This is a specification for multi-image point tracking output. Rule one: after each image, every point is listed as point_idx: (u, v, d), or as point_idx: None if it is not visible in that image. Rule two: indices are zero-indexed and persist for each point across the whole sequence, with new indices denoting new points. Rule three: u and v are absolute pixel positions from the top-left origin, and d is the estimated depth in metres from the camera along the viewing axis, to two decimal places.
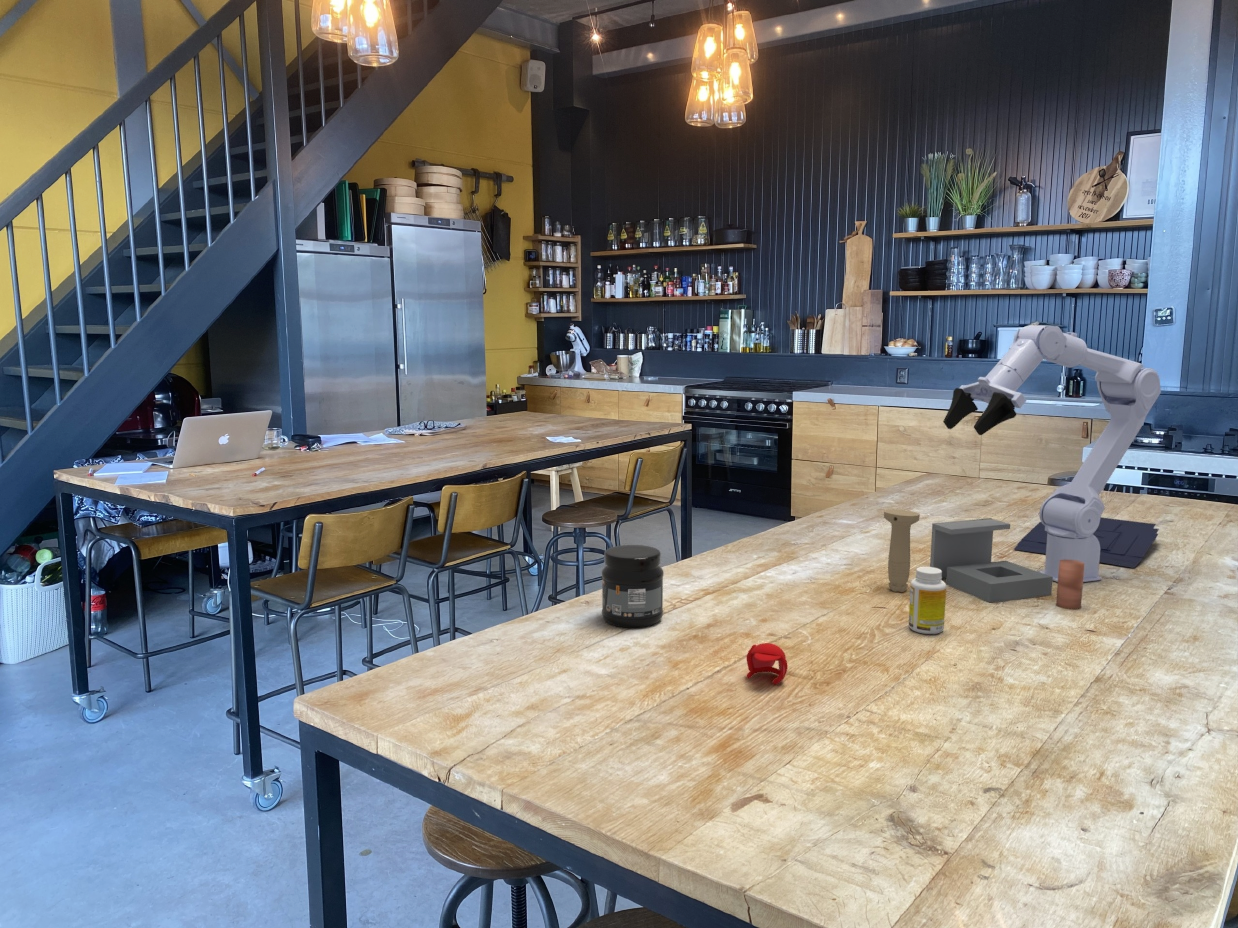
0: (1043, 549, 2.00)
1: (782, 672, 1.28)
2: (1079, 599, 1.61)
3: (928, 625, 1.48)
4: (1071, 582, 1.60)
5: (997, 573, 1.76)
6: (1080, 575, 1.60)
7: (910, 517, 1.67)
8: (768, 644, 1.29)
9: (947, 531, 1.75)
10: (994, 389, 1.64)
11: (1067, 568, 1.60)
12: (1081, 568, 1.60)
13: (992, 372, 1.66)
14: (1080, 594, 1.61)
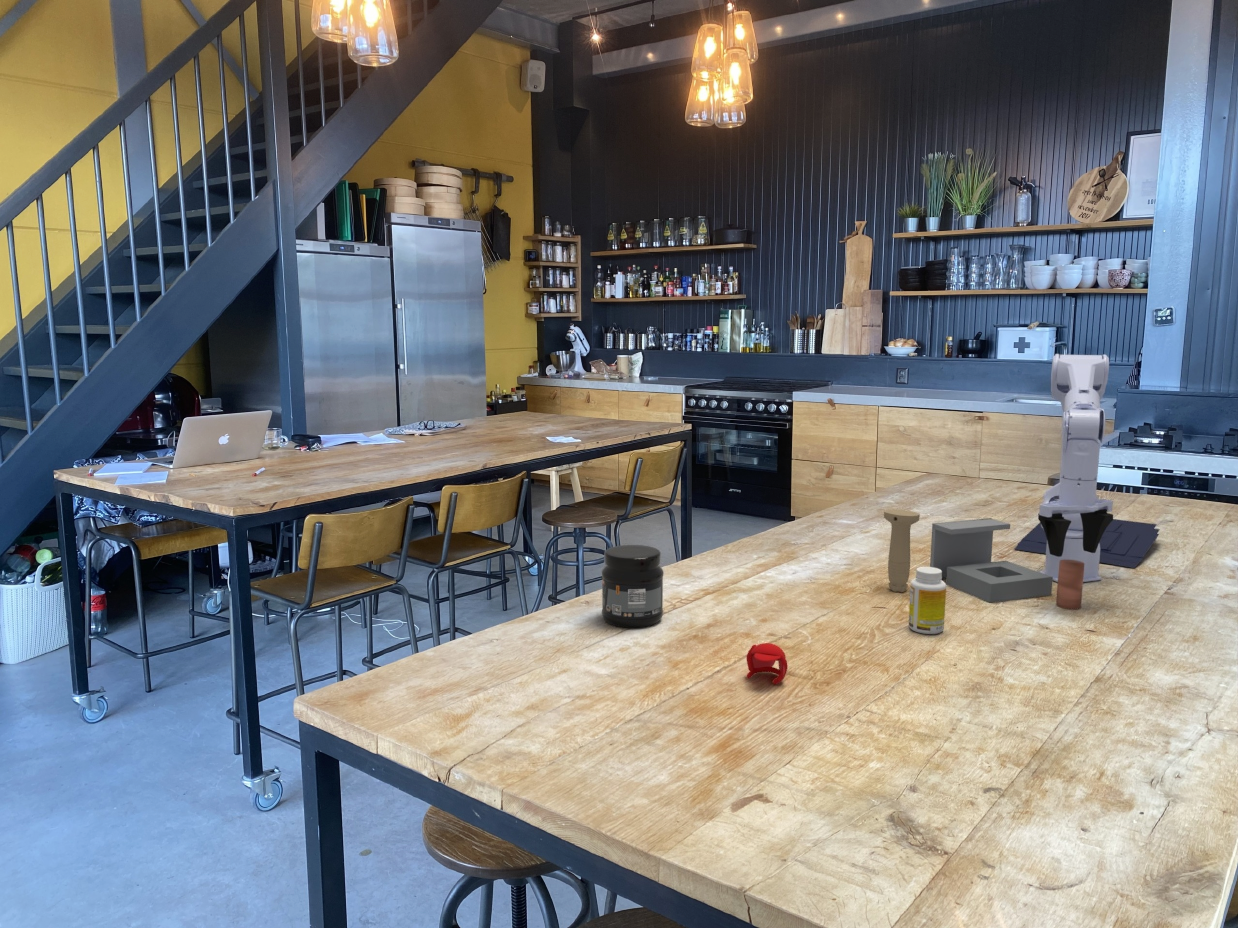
0: (1043, 548, 2.00)
1: (782, 672, 1.28)
2: (1079, 599, 1.61)
3: (928, 625, 1.48)
4: (1071, 582, 1.60)
5: (997, 573, 1.76)
6: (1080, 575, 1.60)
7: (910, 517, 1.67)
8: (768, 644, 1.29)
9: (947, 531, 1.75)
10: None
11: (1067, 568, 1.60)
12: (1081, 568, 1.60)
13: (1089, 492, 1.57)
14: (1080, 594, 1.61)
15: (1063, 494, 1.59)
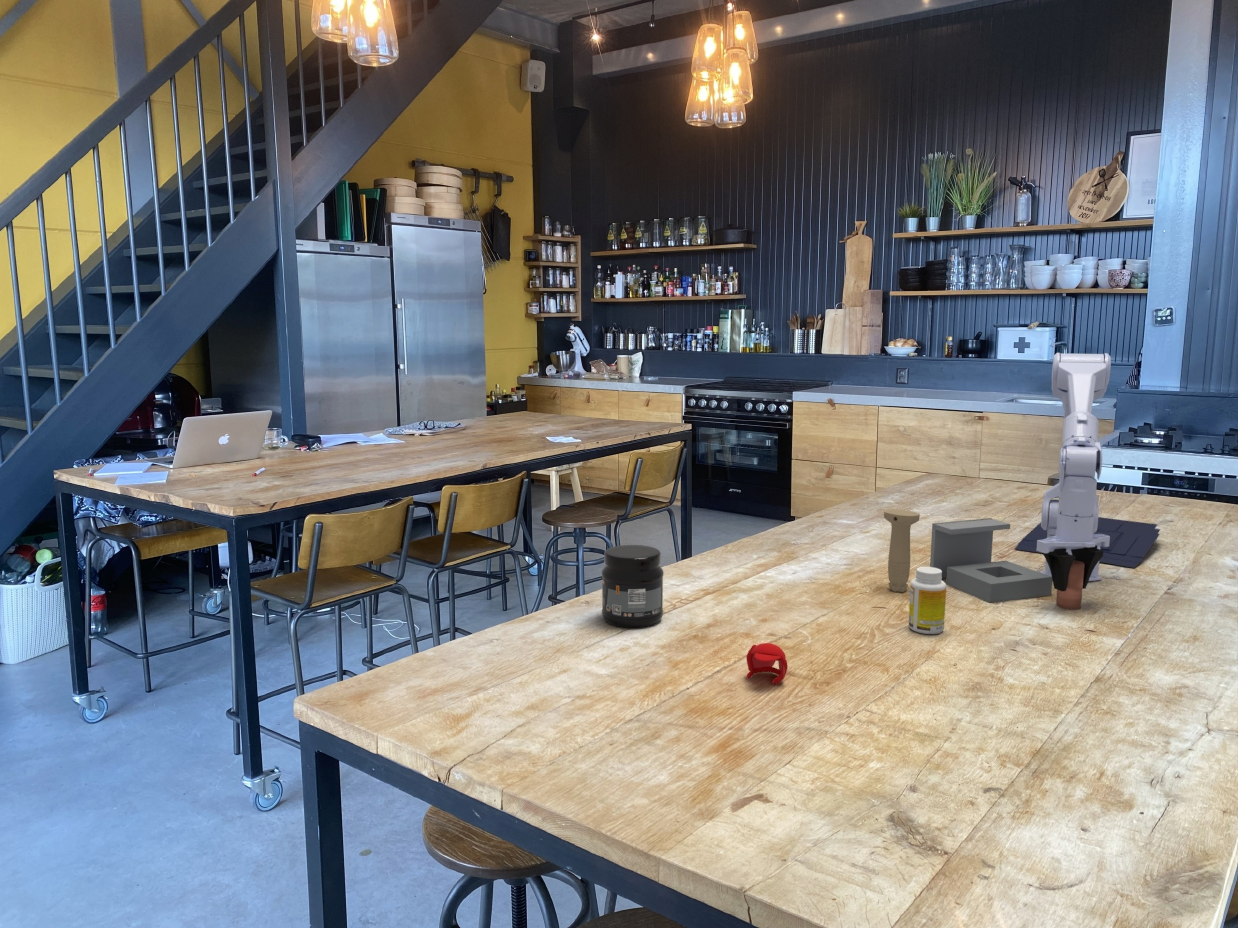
0: None
1: (782, 672, 1.28)
2: (1079, 599, 1.61)
3: (928, 625, 1.48)
4: (1071, 582, 1.60)
5: (997, 573, 1.76)
6: (1080, 575, 1.60)
7: (910, 517, 1.67)
8: (768, 644, 1.29)
9: (947, 531, 1.75)
10: None
11: None
12: (1081, 568, 1.60)
13: (1086, 528, 1.58)
14: (1080, 594, 1.61)
15: (1060, 530, 1.60)
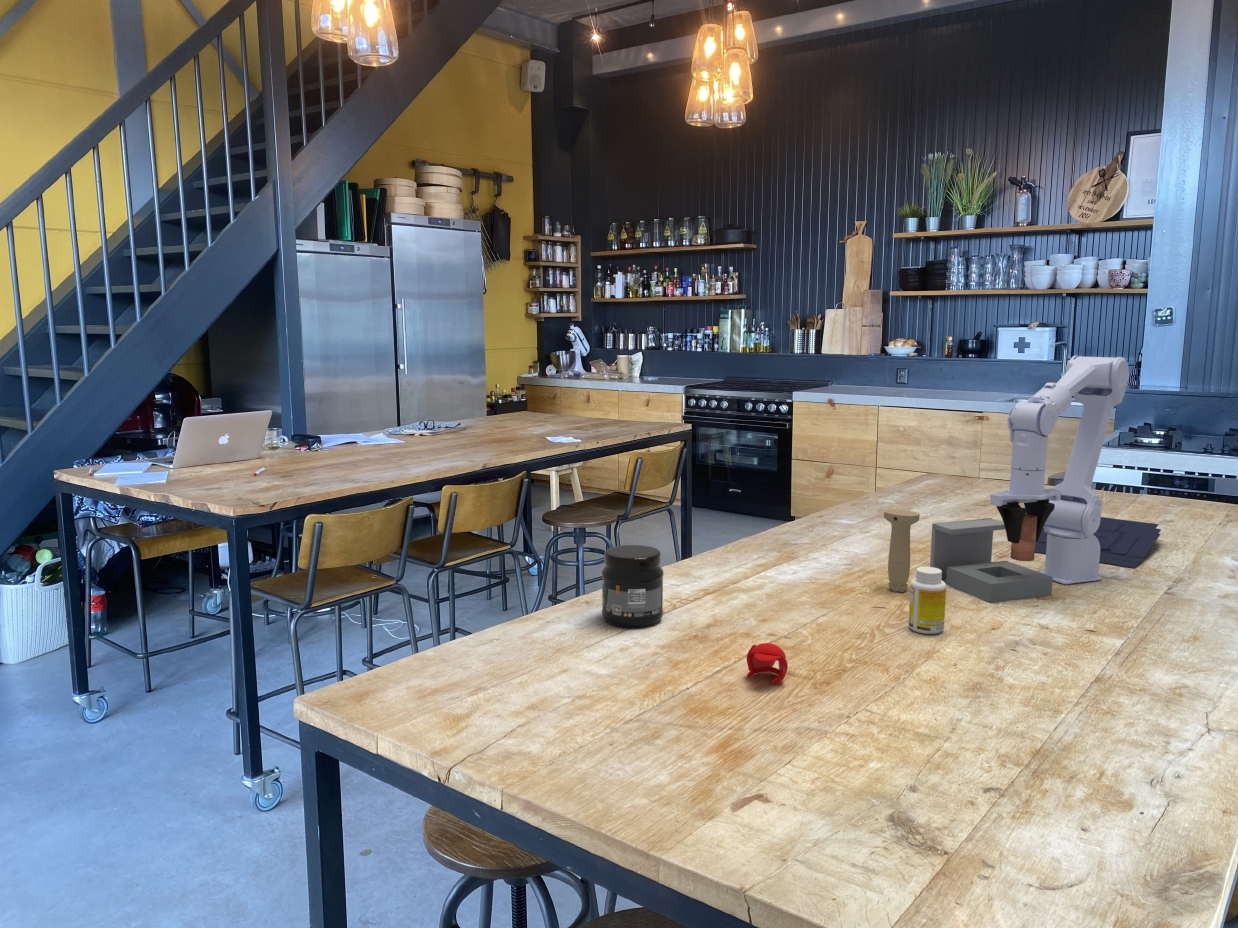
0: (1044, 548, 2.00)
1: (782, 672, 1.28)
2: (1032, 551, 1.66)
3: (928, 625, 1.48)
4: (1025, 534, 1.66)
5: (997, 573, 1.76)
6: (1033, 528, 1.65)
7: (910, 517, 1.67)
8: (768, 644, 1.29)
9: (947, 531, 1.75)
10: None
11: None
12: (1034, 521, 1.65)
13: (1037, 482, 1.63)
14: (1034, 546, 1.66)
15: (1013, 484, 1.65)
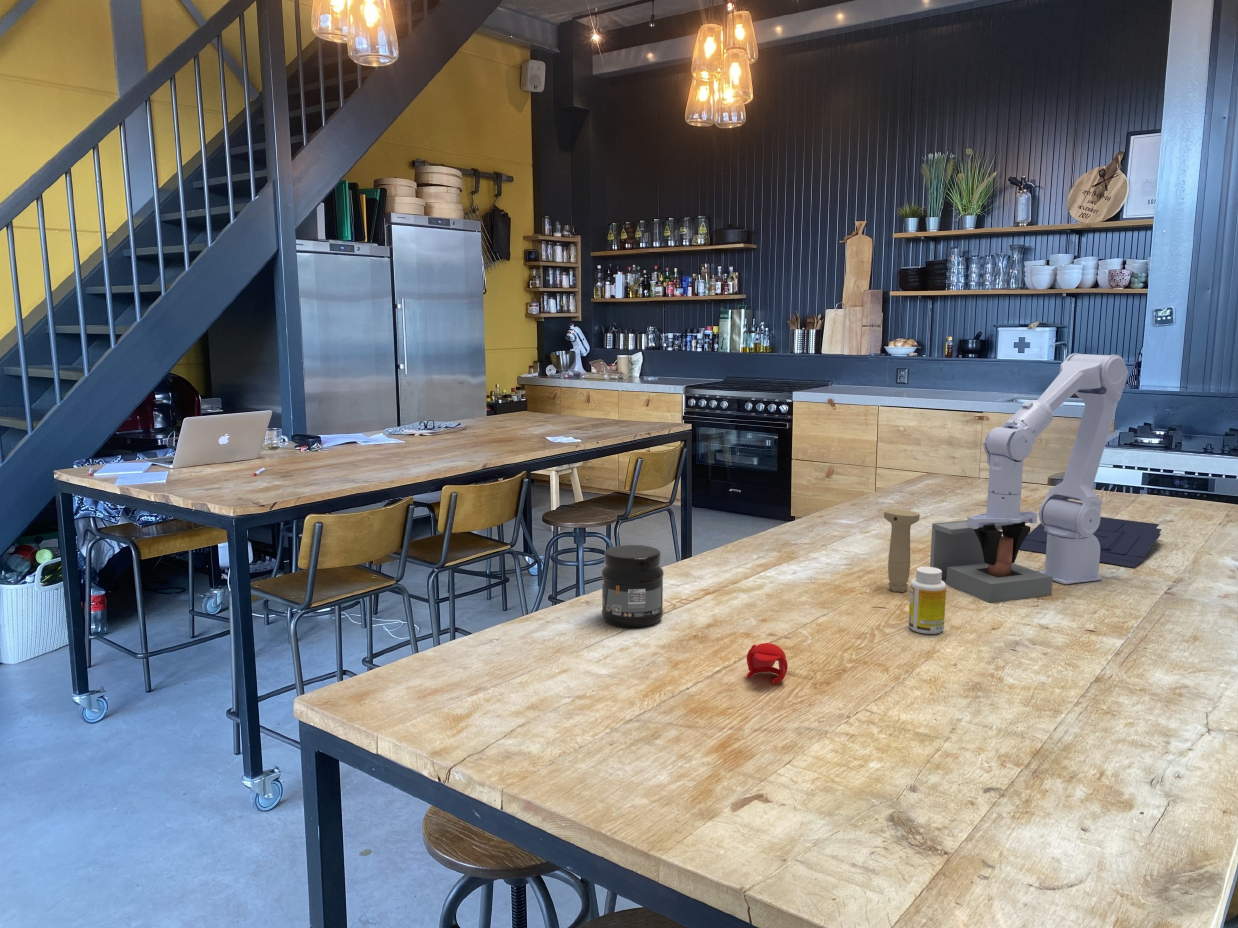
0: (1044, 548, 2.01)
1: (782, 672, 1.28)
2: (1008, 573, 1.70)
3: (928, 625, 1.48)
4: (1001, 556, 1.69)
5: None
6: (1009, 550, 1.69)
7: (910, 517, 1.67)
8: (768, 644, 1.29)
9: (947, 531, 1.75)
10: None
11: None
12: (1010, 543, 1.69)
13: (1013, 505, 1.67)
14: (1010, 567, 1.70)
15: (989, 507, 1.69)
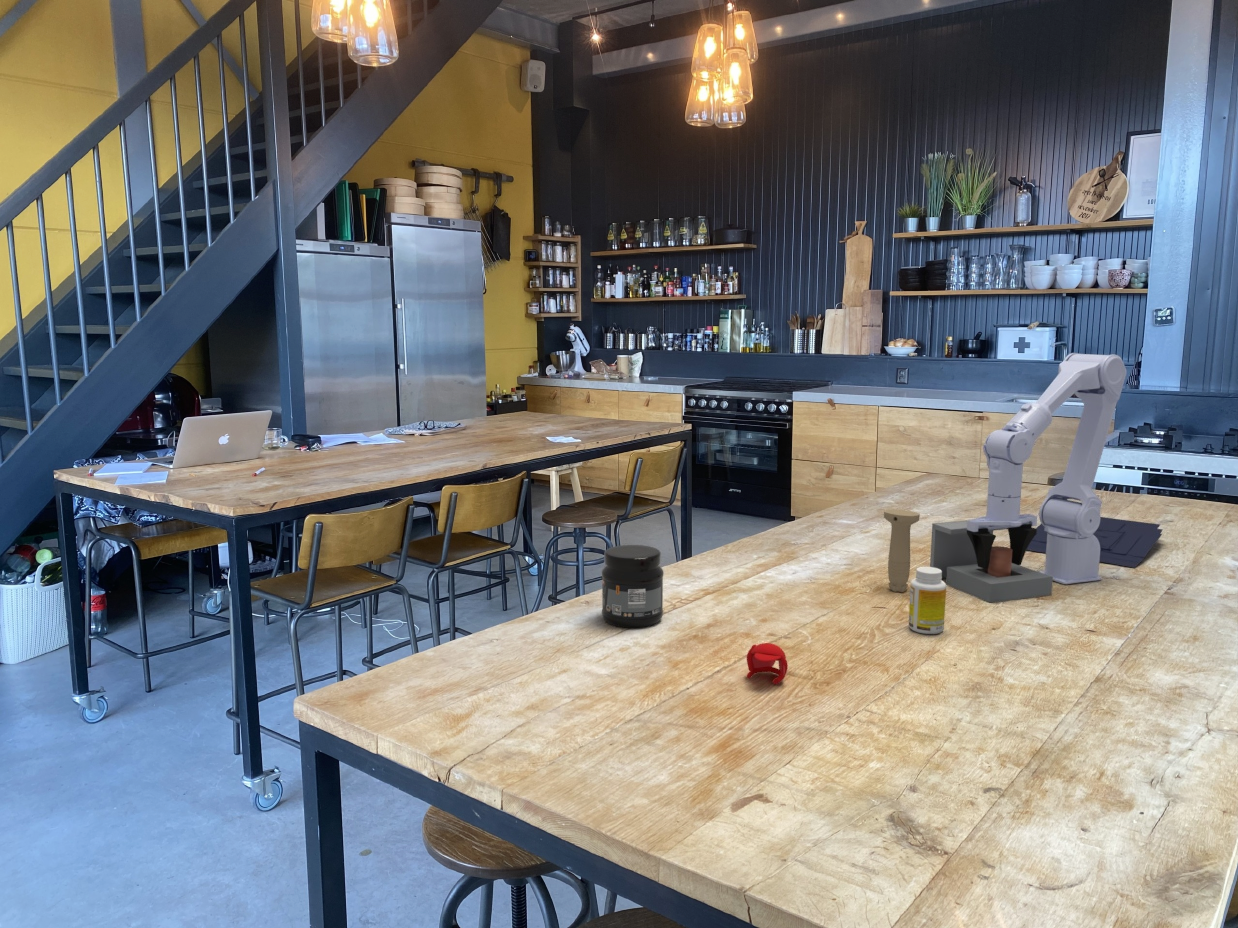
0: (1044, 548, 2.01)
1: (782, 672, 1.28)
2: None
3: (928, 625, 1.48)
4: (1000, 567, 1.70)
5: None
6: (1008, 561, 1.70)
7: (910, 517, 1.67)
8: (768, 644, 1.29)
9: (947, 531, 1.75)
10: None
11: (996, 554, 1.70)
12: (1009, 554, 1.69)
13: (1013, 508, 1.67)
14: None
15: (989, 510, 1.69)
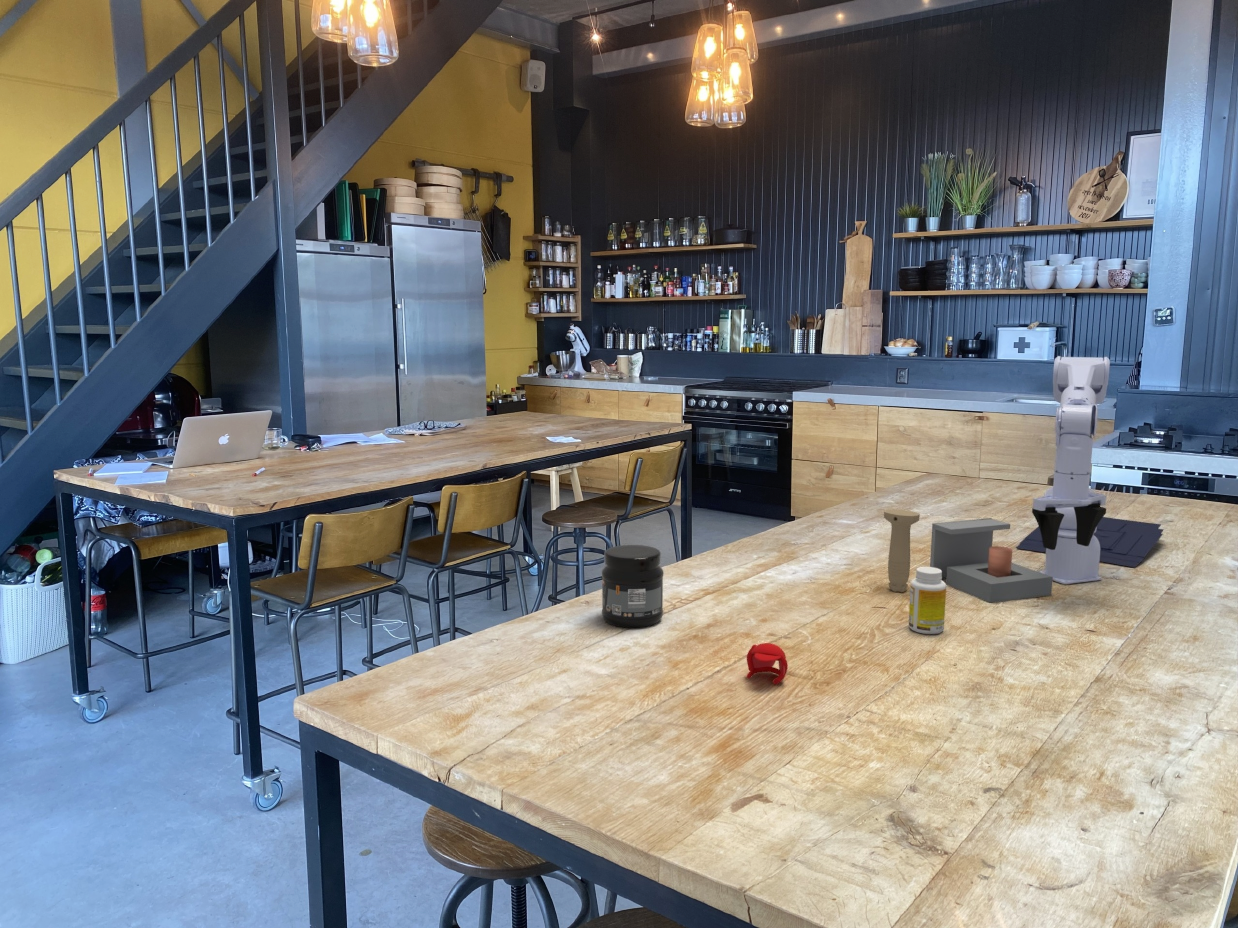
0: None
1: (782, 672, 1.28)
2: None
3: (928, 625, 1.48)
4: (1000, 567, 1.70)
5: None
6: (1008, 561, 1.70)
7: (910, 517, 1.67)
8: (768, 644, 1.29)
9: (947, 531, 1.75)
10: None
11: (996, 554, 1.70)
12: (1009, 554, 1.69)
13: (1082, 486, 1.59)
14: None
15: (1056, 488, 1.61)
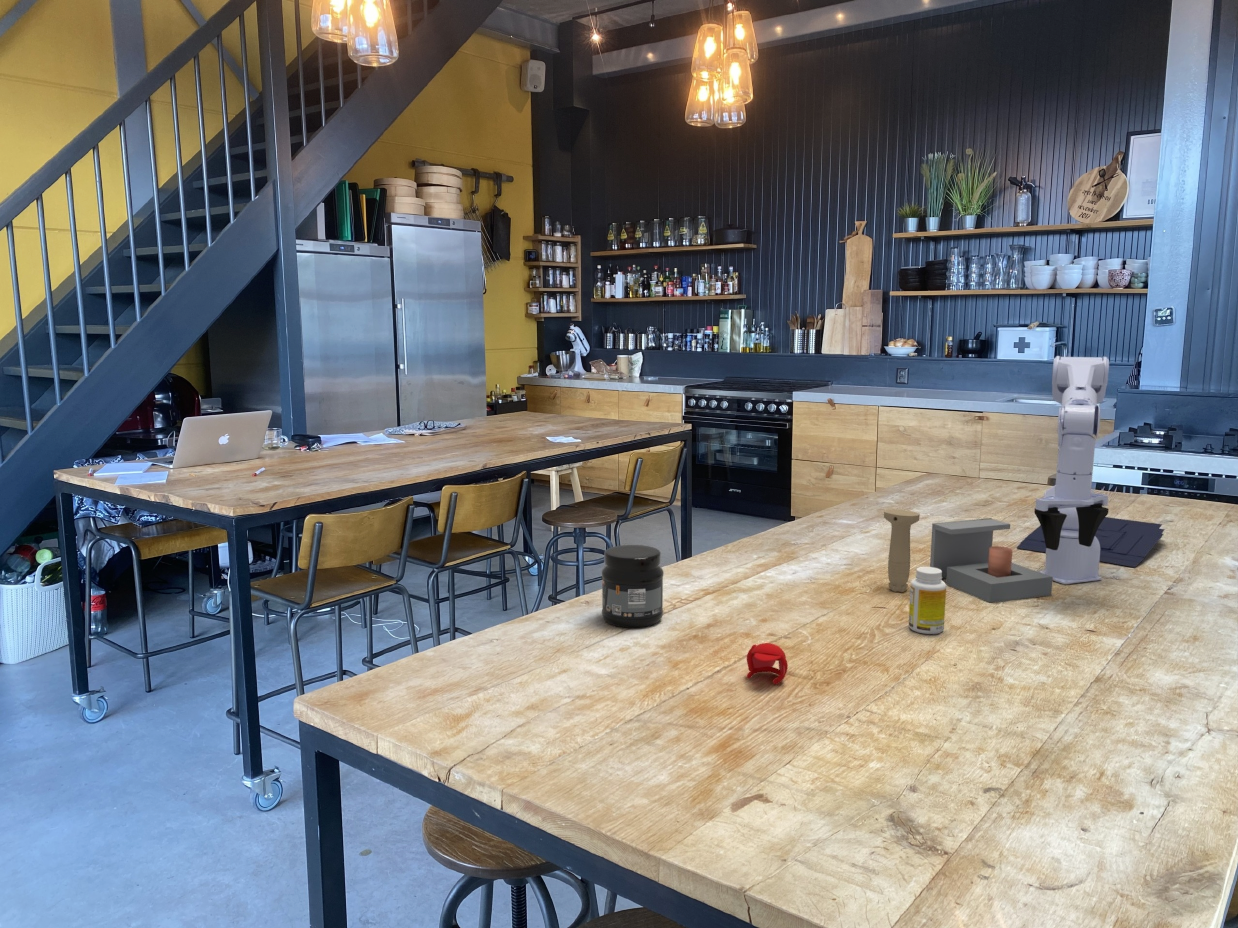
0: (1045, 547, 2.01)
1: (782, 672, 1.28)
2: None
3: (928, 625, 1.48)
4: (1000, 567, 1.70)
5: None
6: (1008, 561, 1.70)
7: (910, 517, 1.67)
8: (768, 644, 1.29)
9: (947, 531, 1.75)
10: None
11: (996, 554, 1.70)
12: (1009, 554, 1.69)
13: (1084, 486, 1.59)
14: None
15: (1059, 489, 1.61)
